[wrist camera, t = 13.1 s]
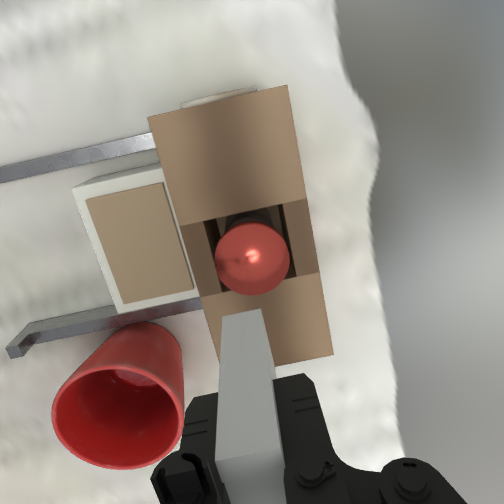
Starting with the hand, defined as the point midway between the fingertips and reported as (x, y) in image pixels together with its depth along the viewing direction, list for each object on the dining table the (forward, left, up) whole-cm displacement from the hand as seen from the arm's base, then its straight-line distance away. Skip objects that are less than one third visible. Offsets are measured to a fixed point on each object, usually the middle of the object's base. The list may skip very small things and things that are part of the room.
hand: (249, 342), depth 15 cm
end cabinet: (0, 0, -22) cm, 22 cm away
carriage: (-8, 0, -22) cm, 24 cm away
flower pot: (-14, -13, -23) cm, 29 cm away
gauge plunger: (0, 0, -16) cm, 16 cm away
